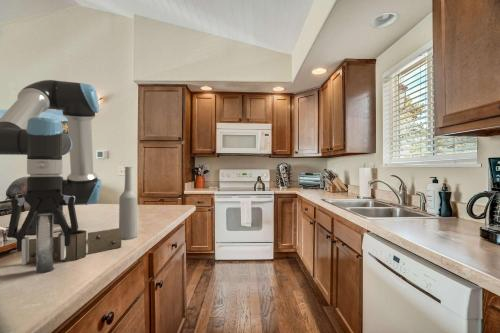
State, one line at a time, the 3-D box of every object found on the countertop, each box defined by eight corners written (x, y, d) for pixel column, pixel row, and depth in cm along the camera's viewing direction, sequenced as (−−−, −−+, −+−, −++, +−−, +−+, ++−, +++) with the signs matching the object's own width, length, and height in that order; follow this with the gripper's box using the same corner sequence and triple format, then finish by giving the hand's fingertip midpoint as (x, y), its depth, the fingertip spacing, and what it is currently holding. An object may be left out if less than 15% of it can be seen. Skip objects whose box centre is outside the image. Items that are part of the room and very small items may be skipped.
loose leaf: (88, 253, 84) (88, 233, 84) (87, 253, 84) (87, 232, 84) (121, 247, 91) (121, 228, 91) (120, 246, 91) (120, 227, 91)
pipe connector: (62, 245, 93) (62, 217, 93) (39, 243, 95) (39, 216, 95) (85, 238, 103) (85, 212, 103) (64, 236, 105) (64, 211, 105)
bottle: (128, 234, 108) (128, 166, 109) (140, 236, 106) (141, 166, 106) (115, 238, 102) (115, 166, 102) (128, 240, 100) (128, 166, 100)
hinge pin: (38, 269, 72) (38, 214, 72) (54, 266, 73) (54, 213, 73) (34, 273, 68) (34, 216, 68) (51, 271, 70) (51, 215, 70)
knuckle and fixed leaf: (28, 259, 79) (29, 234, 79) (87, 252, 86) (87, 229, 86) (20, 267, 73) (20, 240, 73) (84, 259, 79) (84, 234, 79)
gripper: (-12, 176, 63) (-13, 272, 63) (87, 175, 72) (87, 259, 72) (1, 175, 70) (0, 261, 70) (90, 174, 79) (90, 251, 79)
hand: (44, 260), depth 71 cm, fingers open, 8 cm apart
